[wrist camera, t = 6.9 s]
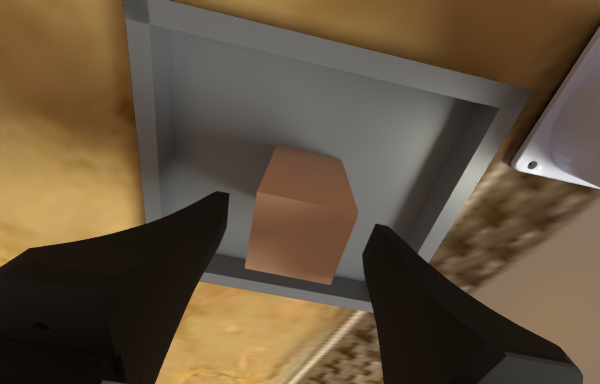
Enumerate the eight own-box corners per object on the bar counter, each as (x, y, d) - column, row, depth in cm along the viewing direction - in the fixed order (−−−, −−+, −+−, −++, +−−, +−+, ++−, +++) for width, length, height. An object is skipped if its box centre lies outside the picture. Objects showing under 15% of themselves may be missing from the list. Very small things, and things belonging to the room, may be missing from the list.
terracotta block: (341, 160, 15) (358, 213, 10) (324, 214, 17) (330, 284, 11) (276, 145, 15) (256, 192, 9) (266, 202, 16) (244, 268, 11)
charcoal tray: (496, 86, 13) (534, 90, 11) (386, 289, 21) (395, 316, 18) (156, 2, 12) (122, -11, 10) (169, 248, 19) (150, 272, 17)
